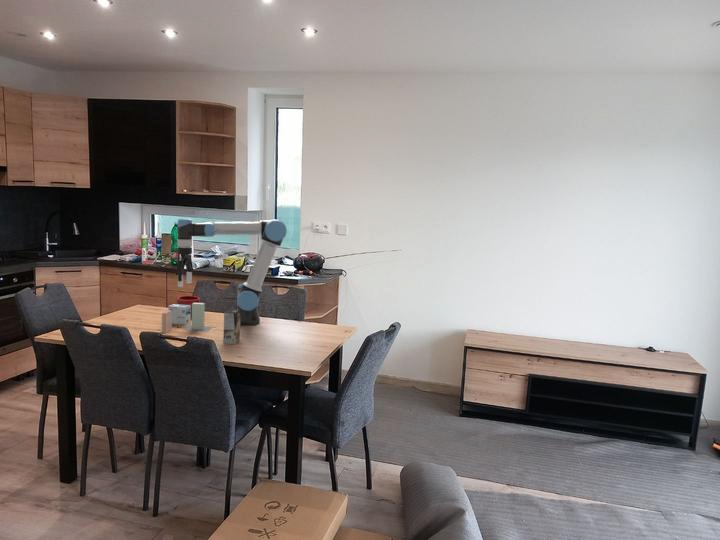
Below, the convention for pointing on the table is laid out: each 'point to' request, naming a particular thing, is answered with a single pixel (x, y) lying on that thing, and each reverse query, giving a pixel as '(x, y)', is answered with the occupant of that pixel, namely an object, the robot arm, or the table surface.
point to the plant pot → (188, 301)
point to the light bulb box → (180, 313)
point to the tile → (166, 321)
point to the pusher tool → (198, 315)
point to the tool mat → (189, 328)
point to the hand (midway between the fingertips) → (184, 285)
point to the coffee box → (231, 326)
